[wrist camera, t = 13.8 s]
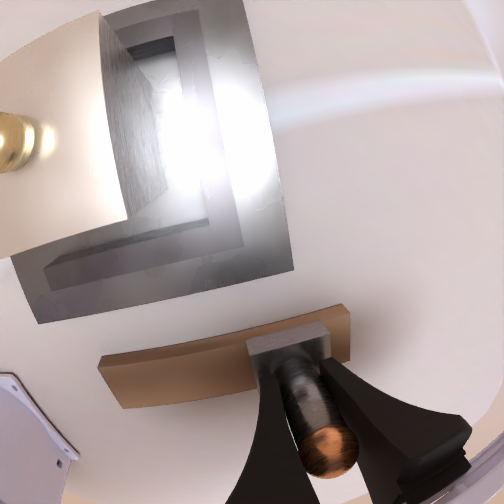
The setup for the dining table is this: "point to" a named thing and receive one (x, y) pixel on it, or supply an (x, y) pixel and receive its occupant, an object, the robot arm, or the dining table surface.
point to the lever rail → (206, 363)
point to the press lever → (307, 397)
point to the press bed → (180, 175)
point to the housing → (74, 136)
